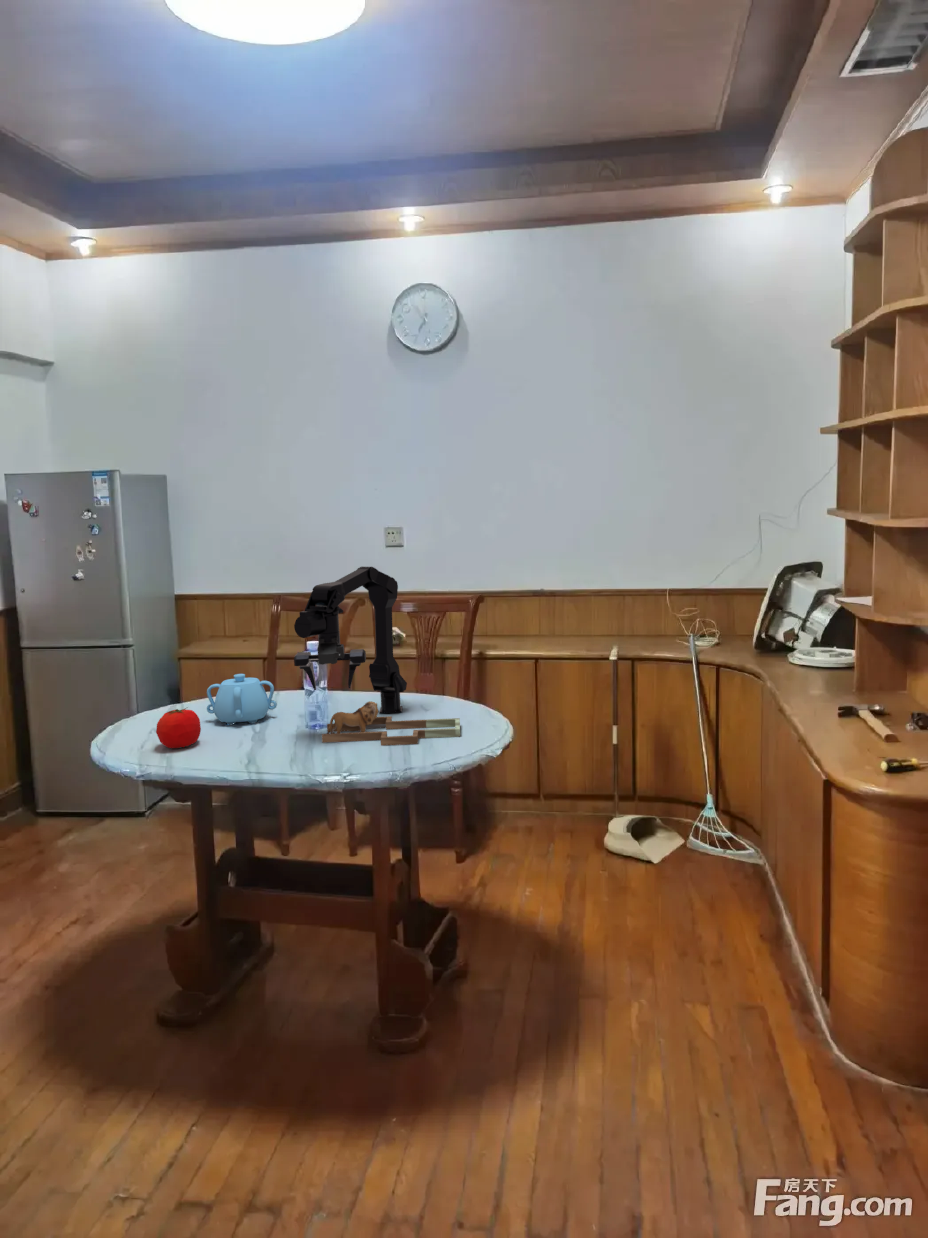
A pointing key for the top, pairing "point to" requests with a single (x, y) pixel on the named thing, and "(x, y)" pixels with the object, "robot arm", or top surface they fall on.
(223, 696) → the decorative pot
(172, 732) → the tomato
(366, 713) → the lion figurine
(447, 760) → the top surface
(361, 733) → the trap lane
